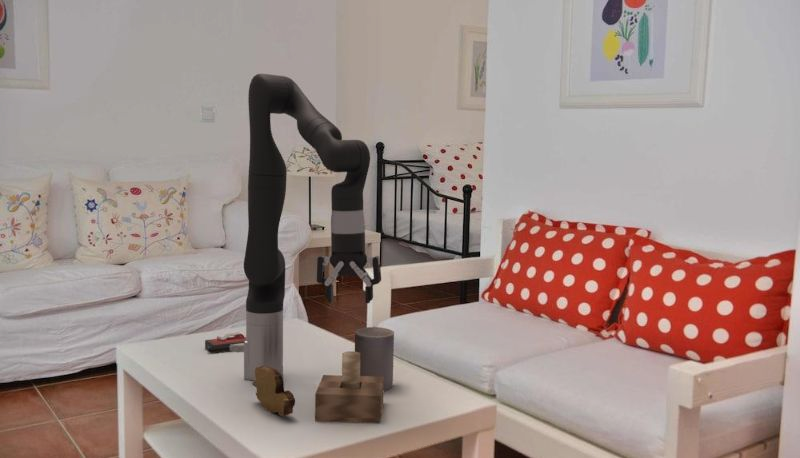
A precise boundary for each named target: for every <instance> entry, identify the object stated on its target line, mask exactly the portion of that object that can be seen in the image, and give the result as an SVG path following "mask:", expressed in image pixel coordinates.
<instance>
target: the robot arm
mask: <svg viewBox="0 0 800 458" xmlns="http://www.w3.org/2000/svg"><path fill="white" fill-rule="evenodd" d="M247 100H248V118H249V119H248V120H249V121H248V122H249V161H248V164H249V165H248V176H247V177H248V181H247V186H248V187H247V212H248V213H247V215H248V217H247V219H248V225H247V226H248V228H247V230H248V231H247V238H246V239H247V240H246V244H245V245H246V247H245V253H244V259H243V260H244V261H243V271H244V275H245V277H246V279H247V280H248V289H247V290H248V291H247V296H246V300H245V337H246V340H245V342H244V351H243V379H244V380H250V381H252V382H253V381H256V377H255V369H256V368H257V367H262V366H265V367H266V366H271V367H273V368H274V369H276V370H277V371H278V372H280V373H281V375H282V376H284V299H285V296H286V294H285V293H286V260H285V257H284V254H283V253H282V251H281V250H280V249H279V228H280V222H281V218H282V213H283V209H284V205H285V199H286V193H287V174H288V170H287V166H286V163H285V160H284V157H283V155H282V154H281V152H280V149H279V148H278V146H277V144H276V142H275V140H274V137H273V133H272V128H271V127H272V125H271V124H272V123H271V114H277V115H282V114H285V115H288V116H289V117H291V118H293V119H294V120H296V127H297V132H298V134H299V135H300V136H301V138H302V139H303V140H304V141H305V142H306V143H307V144H308V145H310V146H311V147H312V148H313V149H314V150H315V151H316V153H317V156H318V158H319V159H320V161H321V163H322V165H323V166H324V168H326V169H327V170H328V171H330V172H333V173H346V175H345V178H344V180H343V181H341V182H339V183H336V184H334V185H332V187H331V193H330V196H331V216H330V217H331V218H330V237H331V238H330V240H331V242H330V243H331V244H330V246H331V247H330V248H331V250H330V251H331V255H330V256H325V255H324V254H321V255H320V256H318V257H317V258H316V260H317V263H316V282H317V283H318V284H322V285H324V287H325V290H324V292H325V293H324V294H325V296H324V297H325V299H326V300H327V302H328V303H333V301H334V284H333V282H334V281H335V280H336V278H337V277H338V276H339V275H340V276H341V277H346V276H350V277H355V276H358V277H359V278H360V280H362V281H363V283H364V284H365V285H366V286H365V289H364V292H365V294H364V295H365V304H370V303H371V301H373V299H374V286H375V285H378V284H380V282H381V281H382V272H381V271H382V270H381V260H380V259H381V258H380V256H379V255H376V256H367V254H366V220H365V212H364V188H365V184H366V180H367V177H368V173H369V169H370V164H371V154H370V149H369V147H368V144H366V142H364V141H362V140H359V139H343V135H342V132H341V131H340V129H339V128H338V127H337V126H336V125H335V124H334V123H333V122H331V121H330V120H329V119H327V118H326V116H324V115H323V114H322V113H320V112H319V111H318V110H317V109H316V107H315V106H314V104H313V103H312V102H311V101H310V100H309V99H308V97H307V96H306V94H305V93H304V92H303V90H302V89H301V88H300V87H299V85H298V84H297V83H296V81H294V80H293V79H292V78H291V77H289V76H284V75H276V74H267V73H257V74H255V75H254V76H253V77H252V79H251V80H250V83H249V86H248V99H247ZM329 263H330V265H331V266H332V268H333V270H332V271H331V273H329V276H328V277H326V276H325V275H326V266H328V265H329ZM367 264H369V265H370V267H372V270H373V271H372V273H373V278H372V277H371V276H370V275H369V272H368V271H367V270H366V269H365V266H366V265H367Z"/></svg>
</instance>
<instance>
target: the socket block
mask: <svg viewBox="0 0 800 458" xmlns="http://www.w3.org/2000/svg"><path fill="white" fill-rule="evenodd" d="M384 392H385V391H384V377H375V376H360V388H342V374H341V375H339V374H338V375H337V374H336V375H333V374H330V375H329V374H323V376H322V377H321V380H320V382H319V384H318V387H317V389H316V391H315V397H314V409H315V410H314V421H315V422H332V423H333V422H335V423H336V422H337V423H366V424H367V423H368V424H381V419H382V414H383V407H384Z"/></svg>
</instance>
